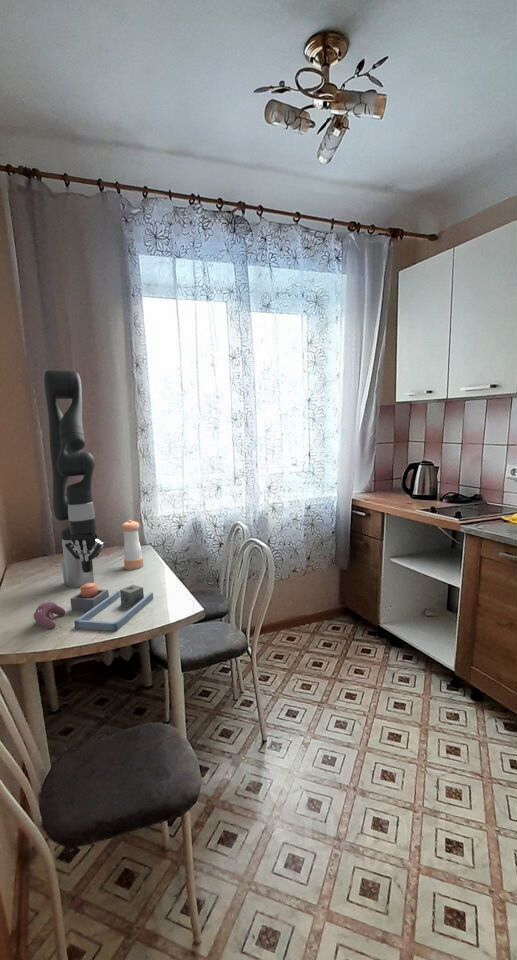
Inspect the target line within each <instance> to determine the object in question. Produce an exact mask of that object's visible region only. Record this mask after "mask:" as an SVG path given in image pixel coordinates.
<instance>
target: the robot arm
mask: <svg viewBox="0 0 517 960" xmlns="http://www.w3.org/2000/svg"><path fill="white" fill-rule="evenodd" d="M43 381H44V382H43V383H44V392H45V399H46V401H45V402H46V407H47V415H48V429H49V430H48V431H49V433H48V434H49V451H50V458H51V461H50V462H51V470H52V507H53V510H52V511H53V515H54V517H55V519H56V520H57V521H59V522H60V521H67V520H68V522H69V526H68V527H66V528H63V530H62V531H61V533H60V537H61V546H62V552H63V558H62V559H61V569H62V579H63V584H64V585H63V586H67V587H69V588H80V587H81V586H82V585H84V584H87V583H94V581H95V577H94V570H93V569H94V566H93V560H94V559H97V557H99V555H100V554H101V552H102V551H103V548H104V547H105V545H106V542H105V541H101V540H100V539H98V537H99V536H98V535H97V522H96V521H97V520H96V514H95V506H94V502H93V494H92V493H93V492H92V482H93V476H94V475H93V474H94V470H95V465H96V461H95V457H94V456H93V454H92V453H91V452H88V451H82V450H83V449H84V448H85V446H86V438H85V437H86V436H85V432H84V431H85V430H84V425H83V390H82V389H83V388H82V387H83V386H82V380H81V376H80V374H79V373H78V372H77V371H74V370H61V369H59V370H54V369H53V370H52V369H50V370H46V371H45V373H44V379H43ZM59 399H60V400H71V403H70V405H69V407H68V408H67V410H66V412H65V413H64V414H63V412H62V411H61V410H60V407H59V404H58V402H57V400H59ZM77 476H83V478H81V480H80V481H78V482H75V483H71V484H68V486H67V483H68V480H69V478H70V477H77Z"/></svg>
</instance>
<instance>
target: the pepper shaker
mask: <svg viewBox="0 0 517 960" xmlns="http://www.w3.org/2000/svg"><path fill="white" fill-rule="evenodd" d="M120 527H121V531H123V537H124V538H123V539H124V544H123V545H124V546H123V554H124V555H123V556H124V559H123V564H124V565H123V566H124V569H125V570H128V571H130V570H131V571H133V570H139V569H141V568H143V567H144V557H143V556H142V547H141V543H140V539H139V529H140V527H141V525H140V523H139V522H138V521H135V520H132V519H128V521H126V522H124V523H122V524H121V526H120Z"/></svg>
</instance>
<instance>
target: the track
mask: <svg viewBox="0 0 517 960" xmlns="http://www.w3.org/2000/svg"><path fill="white" fill-rule="evenodd" d="M119 598H121V596H120V590H117V591H115V592H113V593H112V594H111V595H110V594H109V597H108V598H106V599H105V600H103V601H102V602H101V603H99V604H98V605H96V606H95V607H94V608H92V609H91V610H89V611H88V612H84V614H82V615H81V616H80V617H78V618H77V619H75V620H74V628H75V629H85V630H86V629H87V630H88V629H89V630H98V631H99V630H102V631H113V632H115V631H116V632H117V631H118V630H119V629H120V628H121V627H124V625H125V624H126V623H128V622H129V620H131V618H133V617H134V616H136V615H137V614H138V613H139V612H140V611H141V610H142V609H143V608H145V607H146V606H147V605H148V604H149V603H150V602H152V601H153V599H154V593H153V592H149V593H148V594H147V595H144V598H143V599H142V600H141V601H139V602H138V603H137V604H136V605H135V606H133V607H132V608H129V609H128V610H127V611H126V612H125V613H123V614H122V615H121V616H120V617H119V618H118V619H117V620H115V621H103V620H92V619H93V618H94V617H95V616H97V615H98V614H100V613H101V612H102V611H104V609H106V608H107V607H109V606H110V605H111V604H113V603H114V602H116V600H118V599H119ZM146 604H147V605H146Z"/></svg>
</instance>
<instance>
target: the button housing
mask: <svg viewBox="0 0 517 960" xmlns="http://www.w3.org/2000/svg"><path fill="white" fill-rule="evenodd" d="M109 593H110V592H109V589H99V588H98V595H97V596H95V597H93V598H81V591H80V592H79V593H77V594H75V595H73V596H72V597H70V609H71V611H72V612H80V613H81V612H83V613H87V612H88V611H89V610H91V609H92V608H94V607H95V606H96V605H98V604H99V603H101V602H102V601H103V600H105V599H106V598H108V597H109V596H110V594H109Z"/></svg>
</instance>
